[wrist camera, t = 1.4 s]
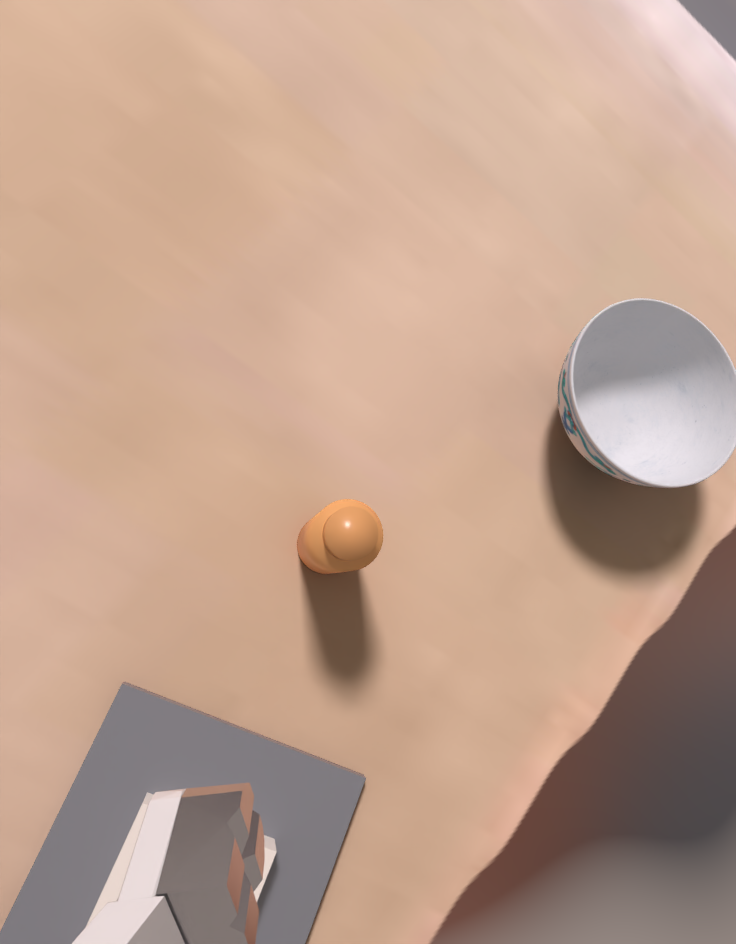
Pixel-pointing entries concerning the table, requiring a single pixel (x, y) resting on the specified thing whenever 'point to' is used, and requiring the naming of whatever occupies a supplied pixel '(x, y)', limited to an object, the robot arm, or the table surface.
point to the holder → (171, 768)
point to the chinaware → (649, 395)
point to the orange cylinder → (340, 538)
